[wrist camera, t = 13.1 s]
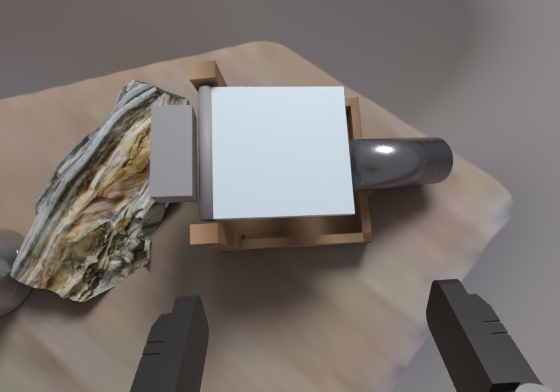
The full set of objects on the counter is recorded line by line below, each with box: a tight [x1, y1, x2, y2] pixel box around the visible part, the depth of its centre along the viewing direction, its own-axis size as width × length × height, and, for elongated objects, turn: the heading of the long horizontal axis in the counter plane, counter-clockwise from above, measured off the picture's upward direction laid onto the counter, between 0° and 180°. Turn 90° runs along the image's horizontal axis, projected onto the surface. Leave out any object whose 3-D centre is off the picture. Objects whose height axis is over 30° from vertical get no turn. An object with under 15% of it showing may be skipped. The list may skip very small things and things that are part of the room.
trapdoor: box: [149, 86, 355, 221], centre depth 28 cm, size 15×10×2 cm
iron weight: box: [348, 137, 453, 191], centre depth 32 cm, size 4×4×10 cm
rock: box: [10, 80, 189, 302], centre depth 36 cm, size 23×7×15 cm
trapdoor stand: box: [190, 61, 372, 251], centre depth 32 cm, size 15×14×12 cm
